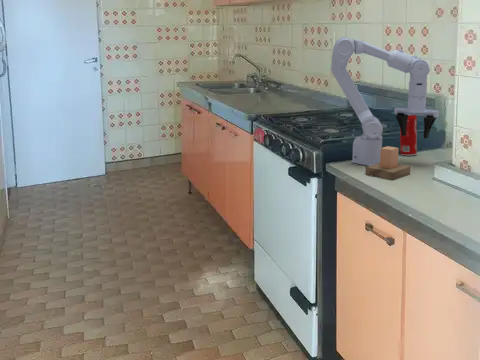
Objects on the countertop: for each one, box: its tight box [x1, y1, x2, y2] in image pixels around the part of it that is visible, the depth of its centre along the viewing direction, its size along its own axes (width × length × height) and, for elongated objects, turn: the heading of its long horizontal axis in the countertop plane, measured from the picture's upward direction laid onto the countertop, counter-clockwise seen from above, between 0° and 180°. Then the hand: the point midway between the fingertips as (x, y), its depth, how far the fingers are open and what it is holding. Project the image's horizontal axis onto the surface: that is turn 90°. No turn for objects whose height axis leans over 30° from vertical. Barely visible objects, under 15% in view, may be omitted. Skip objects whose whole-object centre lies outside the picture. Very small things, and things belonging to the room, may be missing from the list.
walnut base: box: [364, 163, 411, 181], centre depth 182 cm, size 10×10×2 cm
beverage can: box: [399, 115, 418, 157], centre depth 206 cm, size 6×6×15 cm
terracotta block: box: [380, 145, 400, 169], centre depth 181 cm, size 4×4×6 cm
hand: (414, 136), depth 192 cm, fingers open, 7 cm apart
